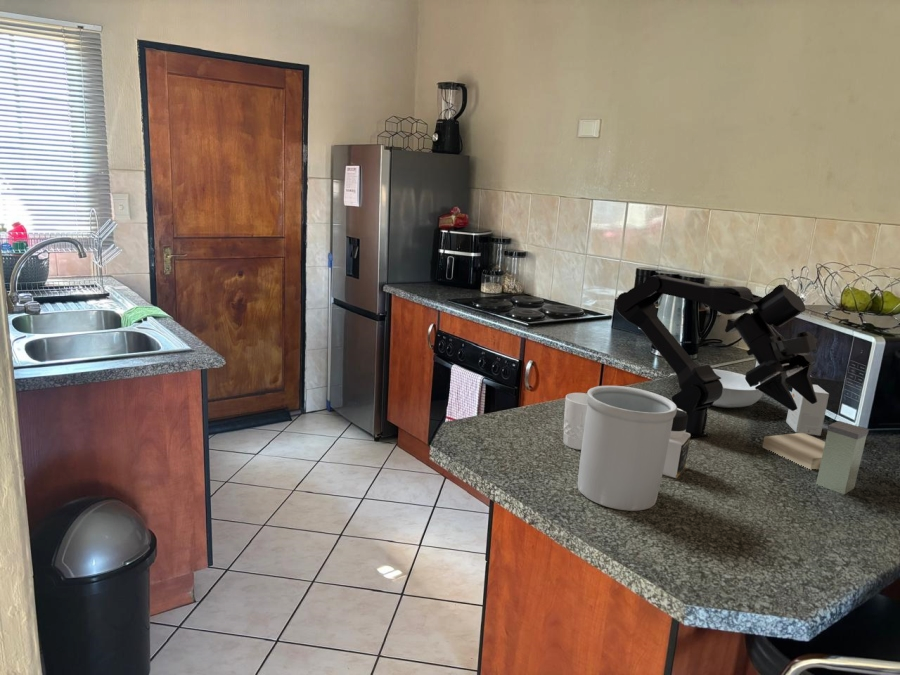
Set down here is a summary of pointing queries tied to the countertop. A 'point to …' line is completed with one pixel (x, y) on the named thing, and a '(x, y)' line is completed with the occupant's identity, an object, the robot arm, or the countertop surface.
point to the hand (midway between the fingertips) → (805, 406)
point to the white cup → (574, 419)
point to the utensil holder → (624, 446)
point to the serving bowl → (736, 390)
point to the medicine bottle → (677, 446)
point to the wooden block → (797, 448)
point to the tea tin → (841, 456)
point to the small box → (808, 412)
